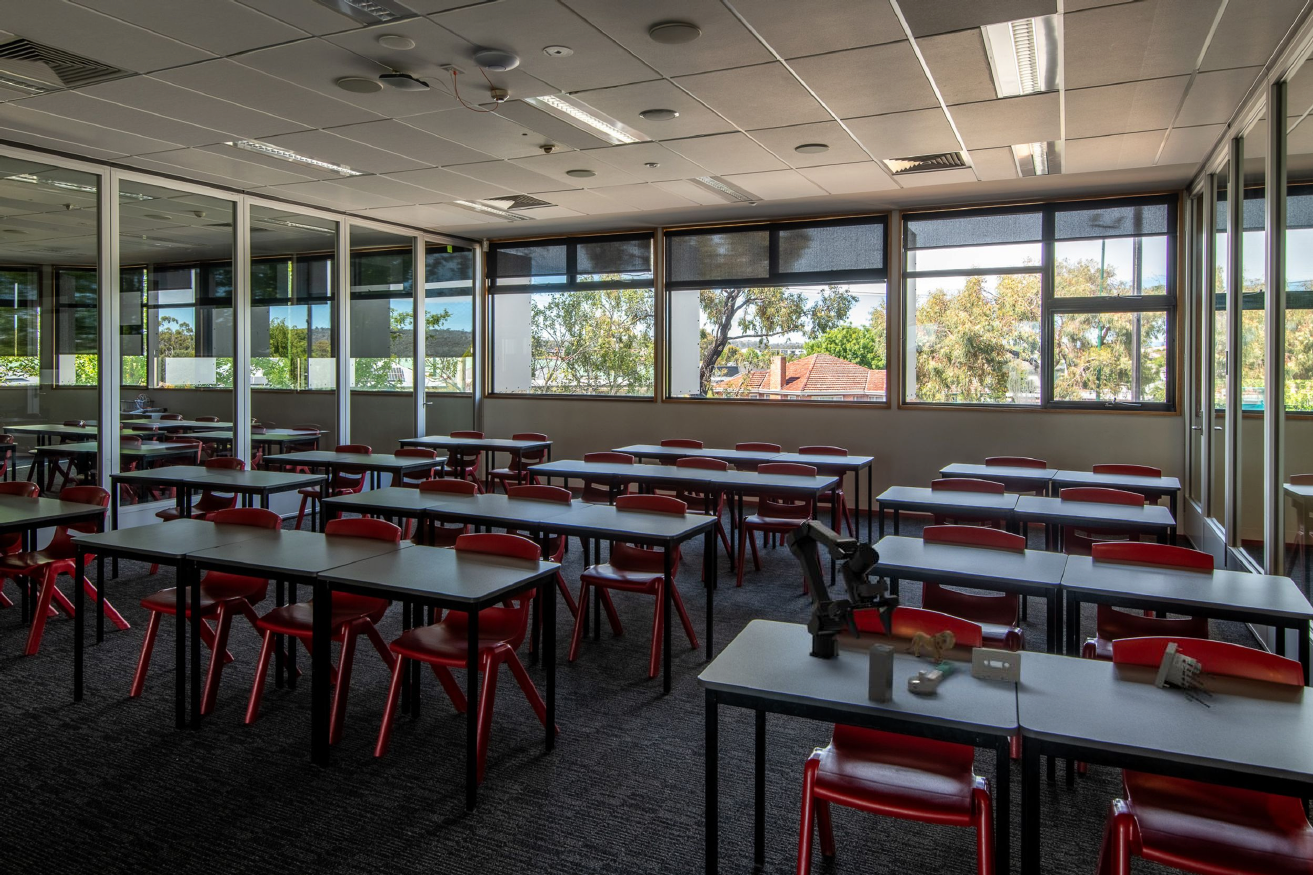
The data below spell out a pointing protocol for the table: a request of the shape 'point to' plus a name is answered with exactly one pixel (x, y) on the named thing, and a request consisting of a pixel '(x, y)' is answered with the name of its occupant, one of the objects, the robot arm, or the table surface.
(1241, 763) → the table surface
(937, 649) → the lion figurine
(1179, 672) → the grey pronged block
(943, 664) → the ratchet
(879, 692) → the charcoal square pillar
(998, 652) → the cassette
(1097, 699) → the table surface
